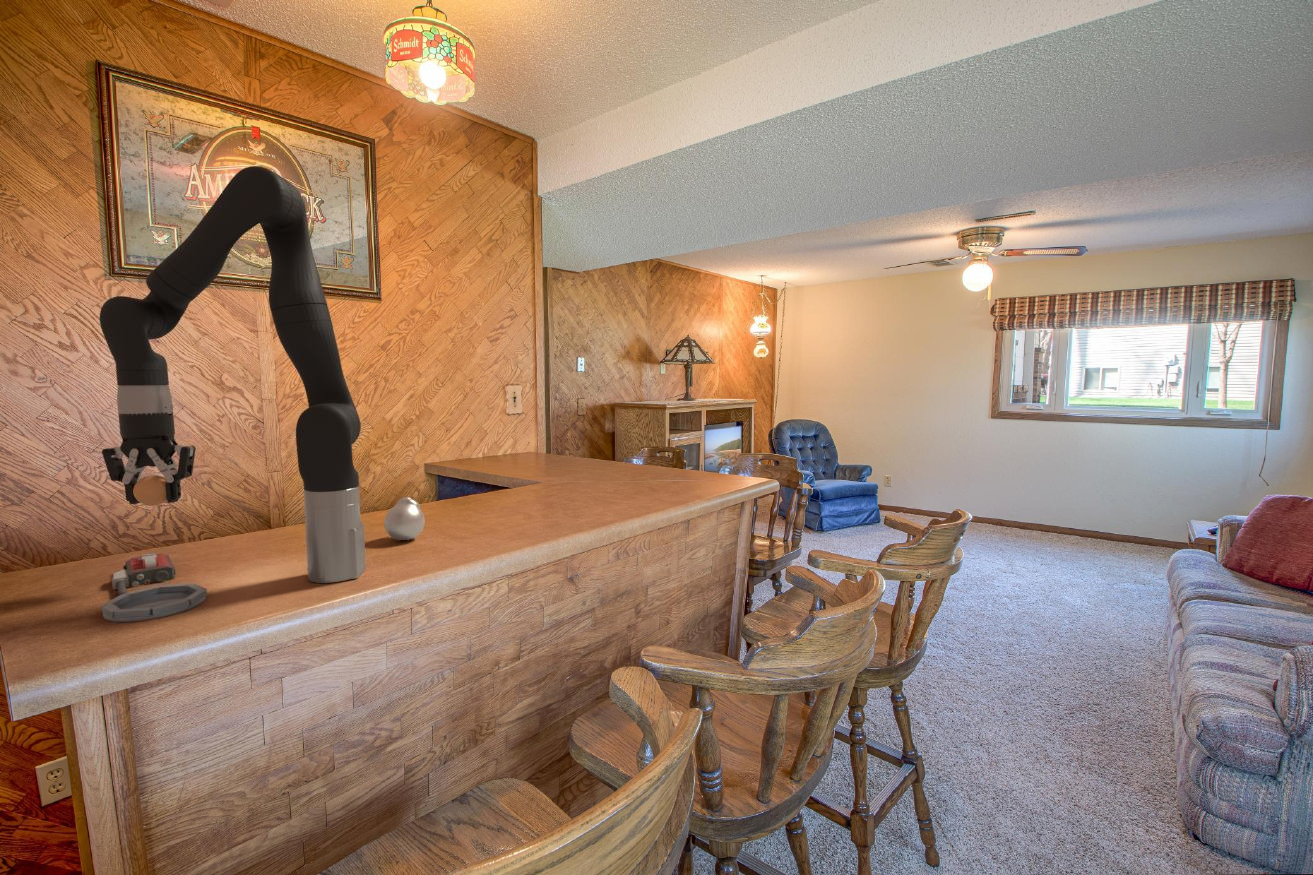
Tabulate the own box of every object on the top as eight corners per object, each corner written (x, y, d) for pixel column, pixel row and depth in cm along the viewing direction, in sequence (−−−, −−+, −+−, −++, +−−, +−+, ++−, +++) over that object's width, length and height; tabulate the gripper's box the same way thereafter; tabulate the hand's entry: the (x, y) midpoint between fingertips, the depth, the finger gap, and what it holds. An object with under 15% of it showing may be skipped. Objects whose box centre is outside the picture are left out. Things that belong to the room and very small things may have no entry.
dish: (221, 589, 105) (220, 581, 105) (179, 618, 92) (178, 608, 92) (136, 594, 102) (135, 586, 102) (81, 625, 90) (80, 615, 89)
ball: (180, 501, 111) (178, 472, 110) (162, 507, 105) (159, 477, 105) (147, 502, 110) (144, 473, 109) (127, 509, 104) (124, 478, 104)
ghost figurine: (435, 537, 142) (434, 496, 141) (403, 547, 133) (402, 503, 132) (408, 532, 145) (406, 493, 144) (375, 542, 137) (374, 500, 136)
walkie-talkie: (111, 575, 113) (114, 604, 99) (109, 553, 113) (112, 578, 99) (169, 565, 120) (181, 591, 105) (168, 544, 119) (179, 567, 105)
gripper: (83, 412, 101) (93, 509, 103) (178, 411, 104) (186, 505, 105) (115, 410, 108) (123, 500, 110) (202, 409, 111) (210, 497, 113)
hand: (154, 502), depth 108 cm, fingers closed on ball, 5 cm apart
